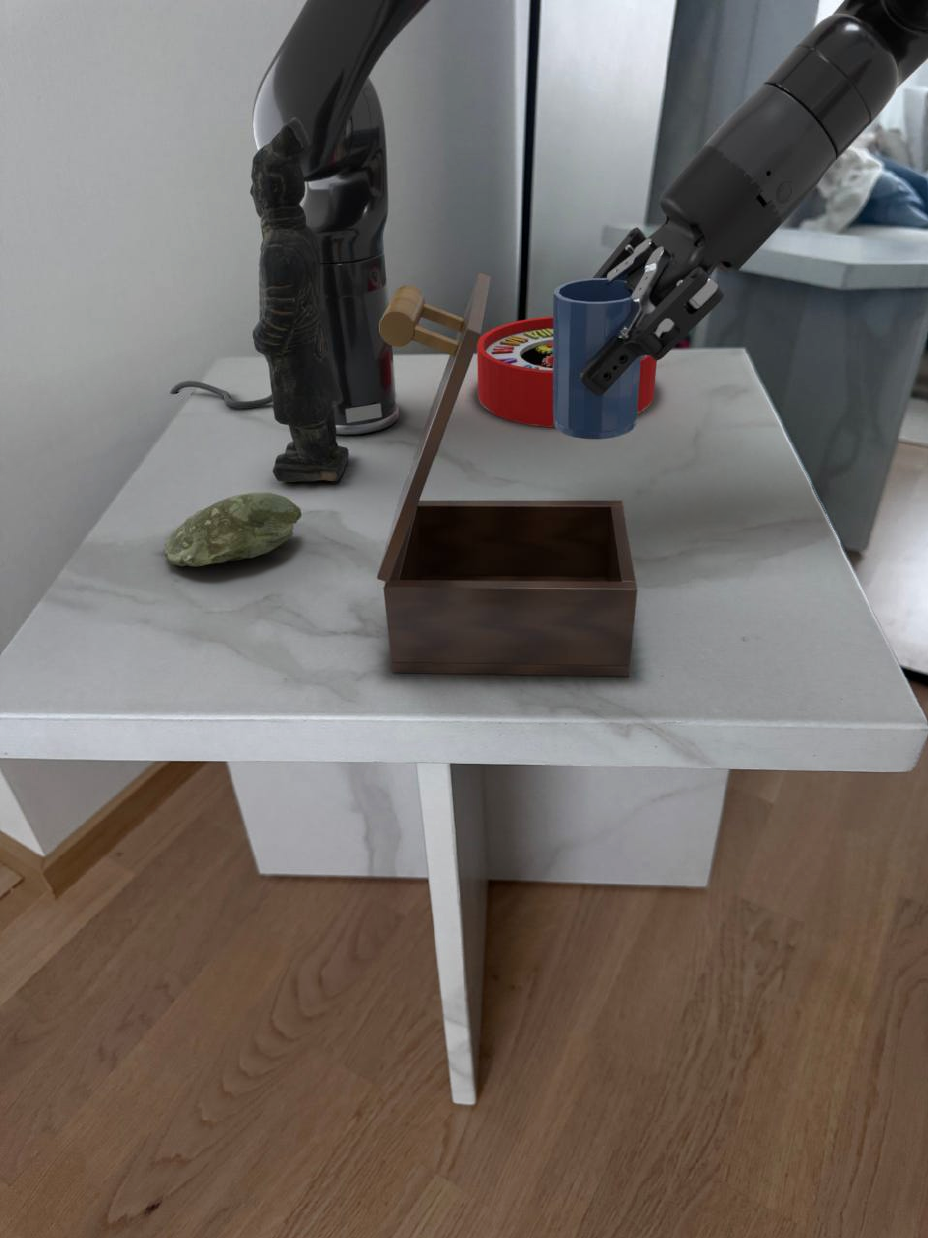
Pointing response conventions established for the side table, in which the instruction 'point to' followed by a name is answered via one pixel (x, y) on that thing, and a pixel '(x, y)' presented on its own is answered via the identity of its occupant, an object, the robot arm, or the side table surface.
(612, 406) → the cup
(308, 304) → the statue
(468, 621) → the box
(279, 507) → the green rounded rock
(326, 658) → the side table surface
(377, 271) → the robot arm
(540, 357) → the toy clock
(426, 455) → the dish box lid
